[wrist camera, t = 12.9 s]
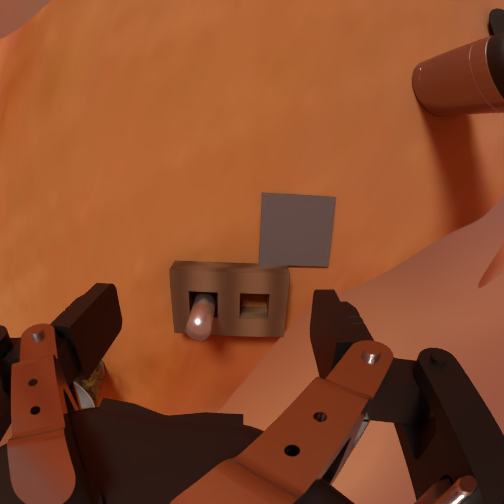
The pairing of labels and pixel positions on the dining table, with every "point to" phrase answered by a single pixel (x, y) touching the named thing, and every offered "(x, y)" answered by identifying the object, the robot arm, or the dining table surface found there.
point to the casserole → (497, 20)
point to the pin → (201, 316)
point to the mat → (296, 229)
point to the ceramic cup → (90, 387)
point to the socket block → (232, 296)
